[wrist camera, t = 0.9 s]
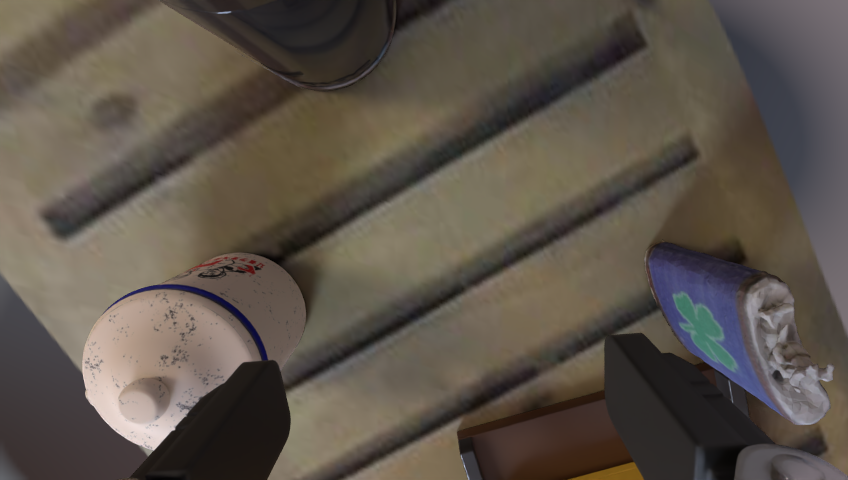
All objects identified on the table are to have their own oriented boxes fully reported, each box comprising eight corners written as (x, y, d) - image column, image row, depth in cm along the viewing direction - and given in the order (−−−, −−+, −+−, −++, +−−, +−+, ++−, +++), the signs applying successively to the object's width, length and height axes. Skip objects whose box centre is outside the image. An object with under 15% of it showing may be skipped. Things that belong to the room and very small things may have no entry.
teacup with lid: (274, 227, 28) (176, 274, 17) (332, 341, 30) (279, 455, 18) (120, 294, 29) (-73, 382, 18) (185, 402, 31) (47, 547, 19)
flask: (718, 342, 30) (877, 439, 20) (681, 360, 31) (818, 465, 20) (672, 232, 29) (817, 275, 18) (632, 252, 29) (753, 305, 18)
